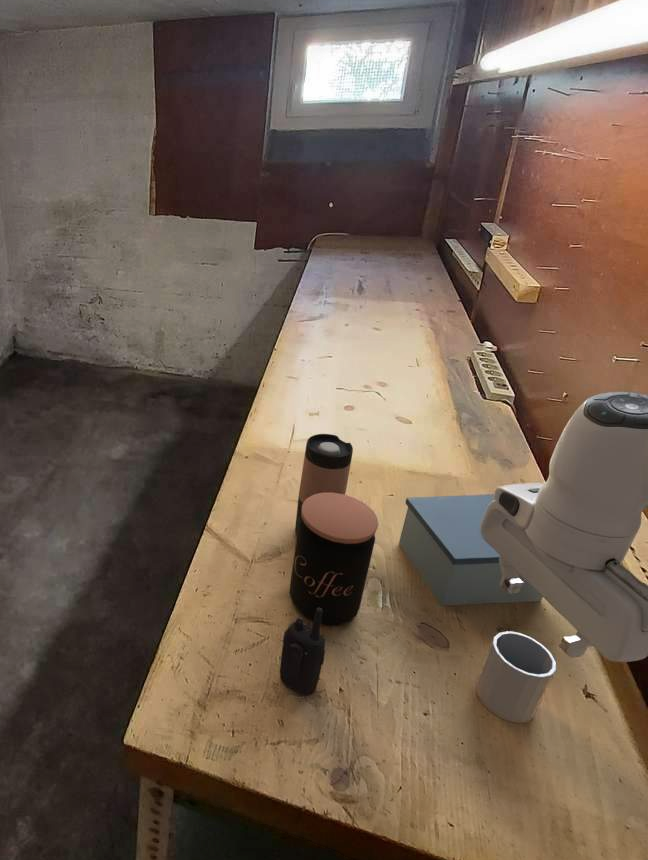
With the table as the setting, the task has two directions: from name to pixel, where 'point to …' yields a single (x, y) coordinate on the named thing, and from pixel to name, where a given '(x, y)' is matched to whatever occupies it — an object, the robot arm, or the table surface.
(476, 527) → the storage container
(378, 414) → the table surface
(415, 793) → the table surface
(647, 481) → the robot arm
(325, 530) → the coffee jar
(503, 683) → the grey cup
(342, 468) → the travel mug
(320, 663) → the two-way radio
